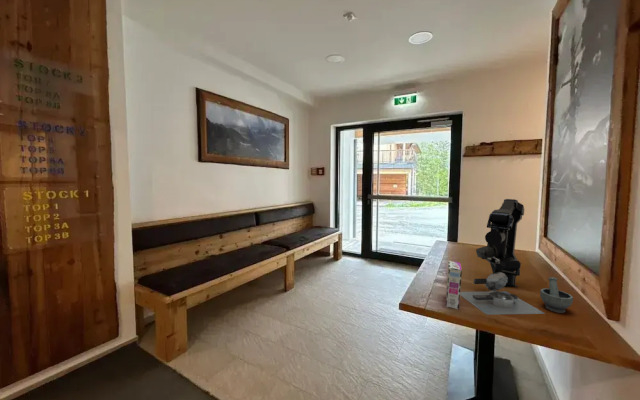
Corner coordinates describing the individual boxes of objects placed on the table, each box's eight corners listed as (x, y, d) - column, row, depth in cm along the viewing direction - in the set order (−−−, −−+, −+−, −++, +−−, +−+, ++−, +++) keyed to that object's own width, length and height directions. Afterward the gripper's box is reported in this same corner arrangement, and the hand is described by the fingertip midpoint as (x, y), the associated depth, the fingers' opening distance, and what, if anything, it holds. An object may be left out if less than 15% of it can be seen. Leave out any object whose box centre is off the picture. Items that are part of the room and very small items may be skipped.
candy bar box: (459, 310, 104) (462, 270, 103) (445, 307, 107) (448, 268, 105) (458, 299, 115) (460, 262, 113) (445, 296, 117) (447, 260, 115)
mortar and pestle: (575, 318, 100) (578, 287, 99) (544, 312, 104) (546, 283, 103) (563, 305, 110) (566, 277, 109) (535, 300, 114) (537, 273, 113)
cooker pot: (506, 297, 116) (506, 290, 116) (523, 307, 107) (524, 300, 107) (466, 297, 115) (467, 290, 115) (480, 308, 106) (481, 300, 106)
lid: (504, 290, 115) (501, 287, 116) (510, 272, 111) (507, 270, 113) (472, 291, 114) (470, 288, 115) (477, 273, 111) (475, 270, 112)
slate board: (506, 292, 122) (506, 291, 122) (545, 314, 103) (545, 313, 103) (456, 292, 121) (456, 291, 121) (486, 315, 101) (486, 314, 101)
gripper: (466, 235, 121) (464, 268, 122) (496, 247, 102) (492, 286, 104) (490, 235, 121) (487, 268, 123) (523, 247, 103) (519, 286, 105)
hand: (495, 276), depth 114 cm, fingers closed
